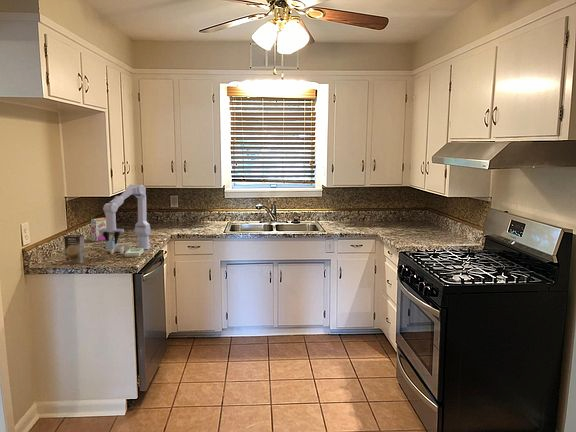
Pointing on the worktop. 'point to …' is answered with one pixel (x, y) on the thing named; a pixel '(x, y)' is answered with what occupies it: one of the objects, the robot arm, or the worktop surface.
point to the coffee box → (74, 248)
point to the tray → (134, 252)
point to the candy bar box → (97, 229)
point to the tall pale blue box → (110, 243)
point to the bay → (120, 248)
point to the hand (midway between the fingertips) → (112, 244)
